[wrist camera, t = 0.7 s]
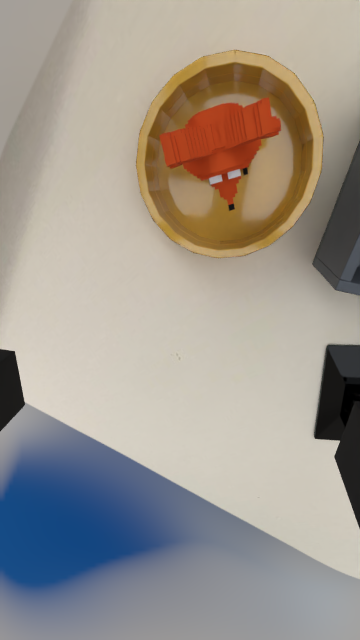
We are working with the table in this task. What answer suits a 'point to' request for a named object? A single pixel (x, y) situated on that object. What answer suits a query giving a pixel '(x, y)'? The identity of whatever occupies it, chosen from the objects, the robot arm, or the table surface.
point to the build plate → (338, 390)
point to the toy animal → (221, 143)
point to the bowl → (263, 172)
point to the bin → (343, 236)
